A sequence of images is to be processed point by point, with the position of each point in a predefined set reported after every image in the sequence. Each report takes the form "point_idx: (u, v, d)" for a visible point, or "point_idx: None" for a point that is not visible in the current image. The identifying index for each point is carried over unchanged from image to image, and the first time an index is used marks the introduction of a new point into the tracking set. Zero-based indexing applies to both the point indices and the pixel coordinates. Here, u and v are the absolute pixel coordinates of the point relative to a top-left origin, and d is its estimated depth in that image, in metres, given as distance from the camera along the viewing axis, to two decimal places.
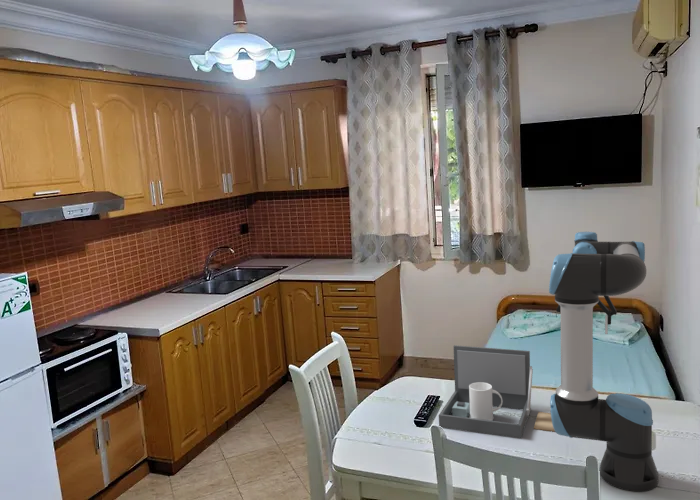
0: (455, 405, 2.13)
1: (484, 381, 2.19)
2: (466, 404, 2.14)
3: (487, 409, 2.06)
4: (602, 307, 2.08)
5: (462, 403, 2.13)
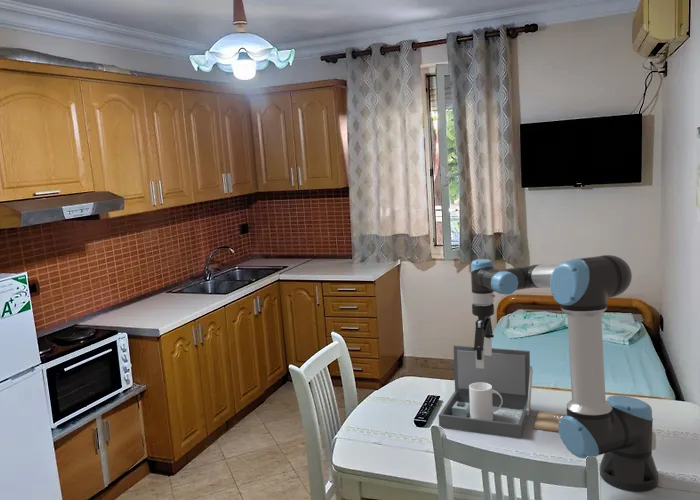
0: (455, 405, 2.13)
1: (484, 381, 2.19)
2: (466, 404, 2.14)
3: (487, 409, 2.06)
4: None
5: (462, 403, 2.13)
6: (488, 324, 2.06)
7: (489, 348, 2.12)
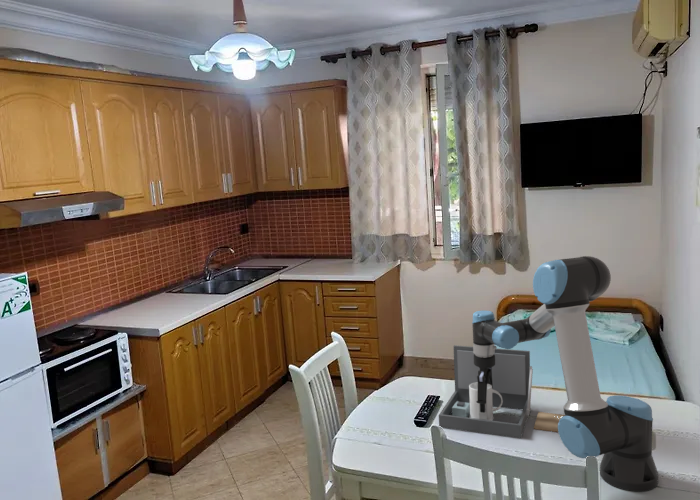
0: (455, 405, 2.13)
1: None
2: (466, 404, 2.14)
3: (487, 409, 2.06)
4: None
5: (462, 403, 2.13)
6: (489, 375, 2.08)
7: None
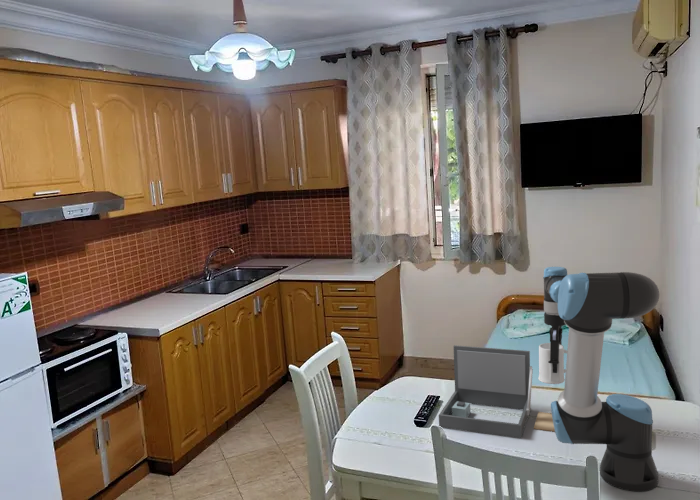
0: (455, 405, 2.13)
1: (484, 381, 2.19)
2: (466, 404, 2.13)
3: (559, 370, 1.97)
4: None
5: (462, 403, 2.13)
6: (560, 334, 1.99)
7: None
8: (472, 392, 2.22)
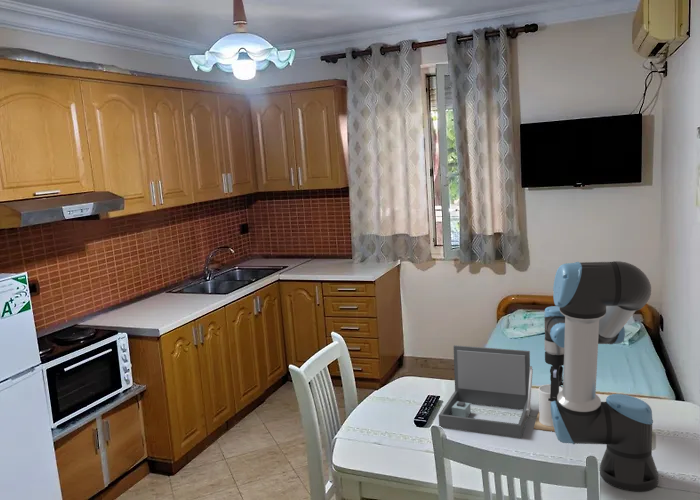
0: (455, 405, 2.14)
1: (484, 381, 2.19)
2: (466, 404, 2.13)
3: None
4: None
5: (462, 403, 2.13)
6: None
7: None
8: (472, 392, 2.22)
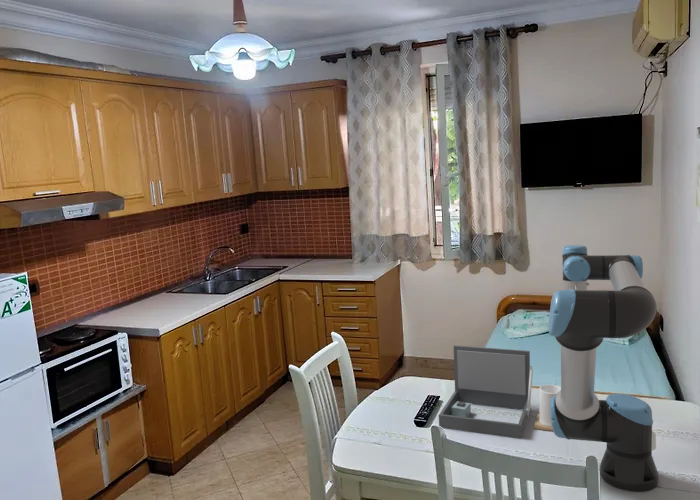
0: (455, 405, 2.14)
1: (484, 381, 2.19)
2: (466, 404, 2.13)
3: None
4: None
5: (462, 403, 2.13)
6: None
7: None
8: (472, 392, 2.22)
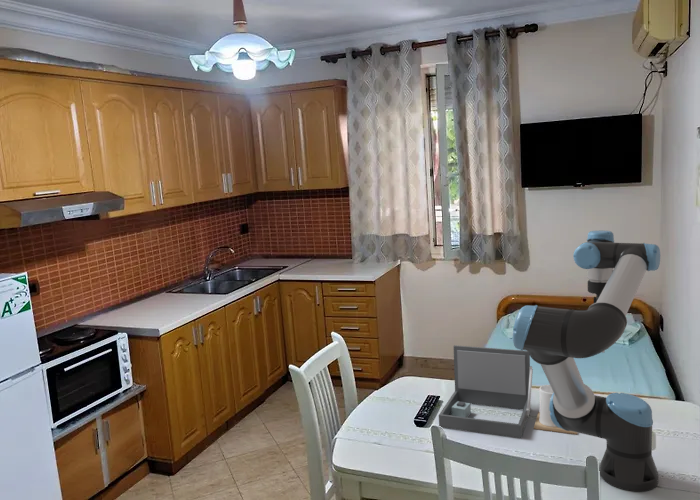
0: (455, 405, 2.14)
1: (484, 381, 2.19)
2: (466, 404, 2.13)
3: None
4: None
5: (462, 403, 2.13)
6: None
7: None
8: (472, 392, 2.22)
